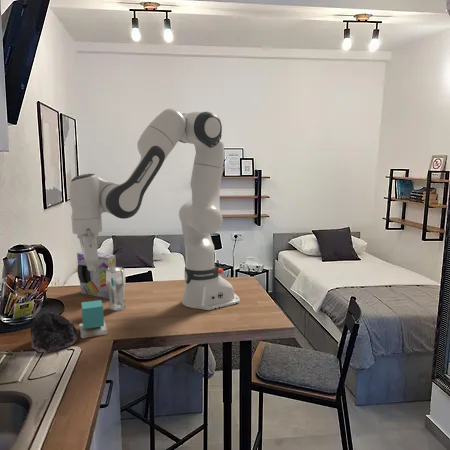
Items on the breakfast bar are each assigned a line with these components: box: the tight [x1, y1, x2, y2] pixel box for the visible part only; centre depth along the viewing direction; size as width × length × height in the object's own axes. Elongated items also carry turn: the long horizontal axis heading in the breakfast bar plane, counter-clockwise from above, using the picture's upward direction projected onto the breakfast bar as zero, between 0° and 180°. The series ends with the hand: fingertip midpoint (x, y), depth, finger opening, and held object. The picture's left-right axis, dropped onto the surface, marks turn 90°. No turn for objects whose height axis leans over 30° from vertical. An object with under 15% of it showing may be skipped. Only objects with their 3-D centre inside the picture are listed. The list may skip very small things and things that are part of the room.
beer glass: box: [106, 266, 126, 312], centre depth 152 cm, size 7×7×15 cm
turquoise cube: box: [80, 299, 105, 329], centre depth 132 cm, size 6×6×7 cm
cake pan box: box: [76, 250, 117, 300], centre depth 166 cm, size 19×5×18 cm, turn 58°
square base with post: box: [79, 320, 108, 339], centre depth 132 cm, size 8×8×8 cm
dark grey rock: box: [29, 311, 78, 353], centre depth 124 cm, size 13×14×10 cm
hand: (90, 269), depth 129 cm, fingers closed
